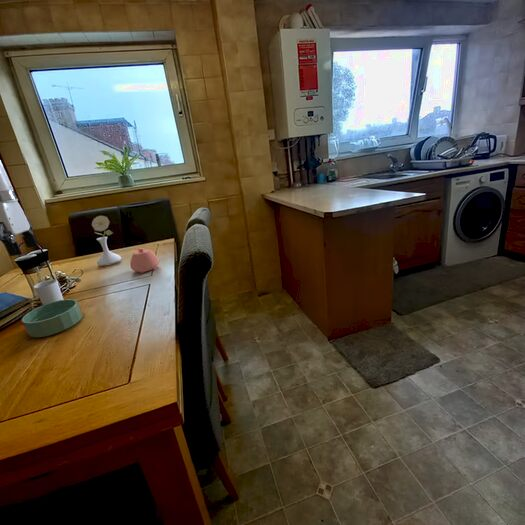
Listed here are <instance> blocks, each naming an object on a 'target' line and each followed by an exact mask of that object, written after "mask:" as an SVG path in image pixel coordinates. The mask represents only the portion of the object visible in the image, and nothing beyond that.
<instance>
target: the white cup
mask: <svg viewBox="0 0 525 525" xmlns="http://www.w3.org/2000/svg"><path fill="white" fill-rule="evenodd" d="M33 289H34V291H35V293H36V295H37V296H38V298H39V300H40V302H41V304H42V306H43V305H45V304H48V303H51V302H55V301H59V300H65V299H64V296H63V294H62V290H61V288H60V284H59V282H58V280H57V279H49V280H44V281H41V282H39V283H36V284H34V286H33Z"/></svg>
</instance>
